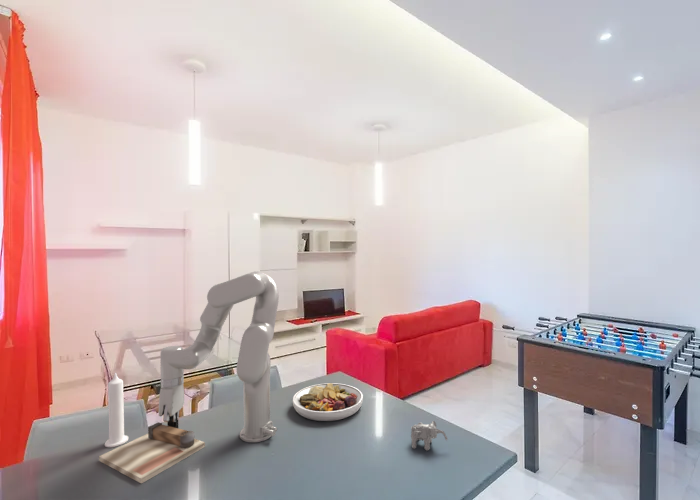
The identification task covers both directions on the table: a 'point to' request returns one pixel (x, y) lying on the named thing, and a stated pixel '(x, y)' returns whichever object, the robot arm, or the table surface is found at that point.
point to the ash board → (147, 457)
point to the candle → (116, 413)
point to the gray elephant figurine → (425, 434)
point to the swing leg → (171, 435)
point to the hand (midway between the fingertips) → (173, 430)
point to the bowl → (327, 401)
